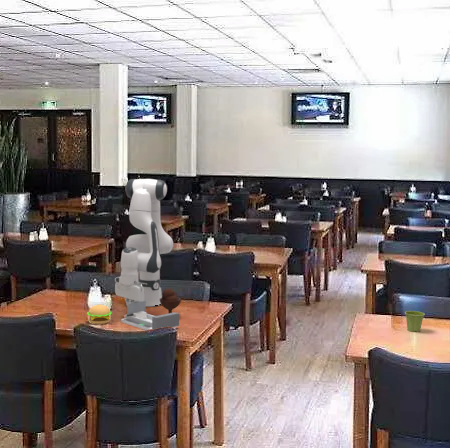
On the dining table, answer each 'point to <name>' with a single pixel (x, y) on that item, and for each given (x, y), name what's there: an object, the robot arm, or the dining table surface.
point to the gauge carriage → (137, 309)
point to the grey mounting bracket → (153, 321)
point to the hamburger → (99, 314)
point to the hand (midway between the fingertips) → (129, 307)
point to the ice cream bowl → (169, 300)
